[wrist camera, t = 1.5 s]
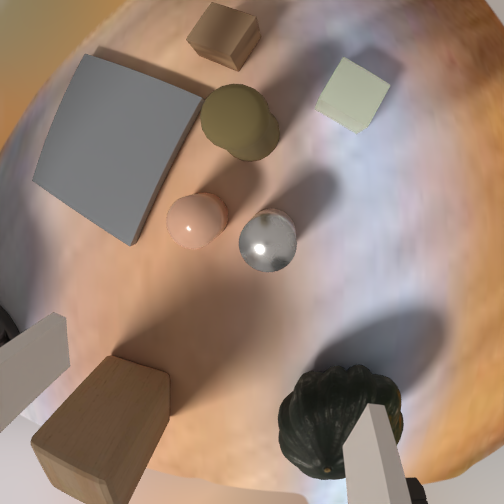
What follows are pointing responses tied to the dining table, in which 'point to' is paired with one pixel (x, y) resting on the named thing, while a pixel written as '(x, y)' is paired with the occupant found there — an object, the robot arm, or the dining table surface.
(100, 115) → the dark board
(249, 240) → the metal tin
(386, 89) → the sage block
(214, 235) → the peach rounded capsule
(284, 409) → the squash
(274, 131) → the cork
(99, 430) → the wooden block
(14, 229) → the dining table surface
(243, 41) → the walnut block
